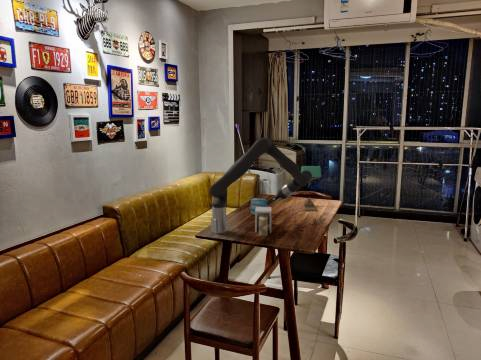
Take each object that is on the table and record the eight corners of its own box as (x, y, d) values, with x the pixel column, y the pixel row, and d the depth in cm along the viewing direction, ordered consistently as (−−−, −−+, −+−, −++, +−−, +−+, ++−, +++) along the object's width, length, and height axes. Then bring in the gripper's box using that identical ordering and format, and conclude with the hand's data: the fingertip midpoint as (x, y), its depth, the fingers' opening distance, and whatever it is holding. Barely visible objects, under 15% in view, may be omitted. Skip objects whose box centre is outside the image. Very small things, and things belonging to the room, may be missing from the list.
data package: (250, 214, 277) (250, 199, 275) (252, 212, 282) (252, 198, 279) (265, 215, 274) (266, 200, 272) (267, 213, 279) (267, 198, 276)
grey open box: (255, 227, 245) (255, 218, 244) (256, 223, 254) (256, 215, 253) (271, 227, 244) (271, 219, 243) (271, 223, 253) (271, 215, 252)
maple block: (258, 235, 228) (258, 219, 226) (259, 229, 240) (259, 214, 238) (267, 235, 228) (267, 219, 226) (267, 230, 239) (267, 214, 237)
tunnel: (255, 232, 234) (255, 211, 232) (255, 227, 245) (255, 206, 242) (271, 232, 233) (271, 211, 231) (271, 227, 244) (271, 207, 241)
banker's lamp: (318, 205, 302) (319, 164, 296) (321, 212, 282) (322, 168, 276) (299, 205, 304) (300, 164, 297) (301, 211, 283) (302, 168, 277)
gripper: (289, 182, 228) (274, 194, 239) (276, 189, 218) (261, 200, 229) (296, 192, 227) (280, 203, 238) (283, 199, 216) (267, 210, 228)
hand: (271, 202), depth 233 cm, fingers open, 8 cm apart
